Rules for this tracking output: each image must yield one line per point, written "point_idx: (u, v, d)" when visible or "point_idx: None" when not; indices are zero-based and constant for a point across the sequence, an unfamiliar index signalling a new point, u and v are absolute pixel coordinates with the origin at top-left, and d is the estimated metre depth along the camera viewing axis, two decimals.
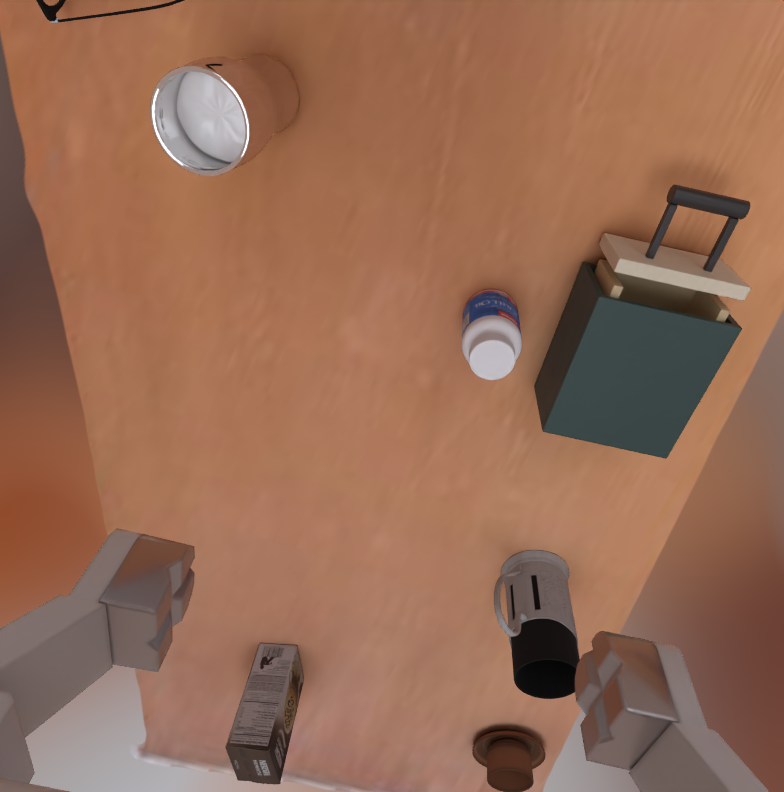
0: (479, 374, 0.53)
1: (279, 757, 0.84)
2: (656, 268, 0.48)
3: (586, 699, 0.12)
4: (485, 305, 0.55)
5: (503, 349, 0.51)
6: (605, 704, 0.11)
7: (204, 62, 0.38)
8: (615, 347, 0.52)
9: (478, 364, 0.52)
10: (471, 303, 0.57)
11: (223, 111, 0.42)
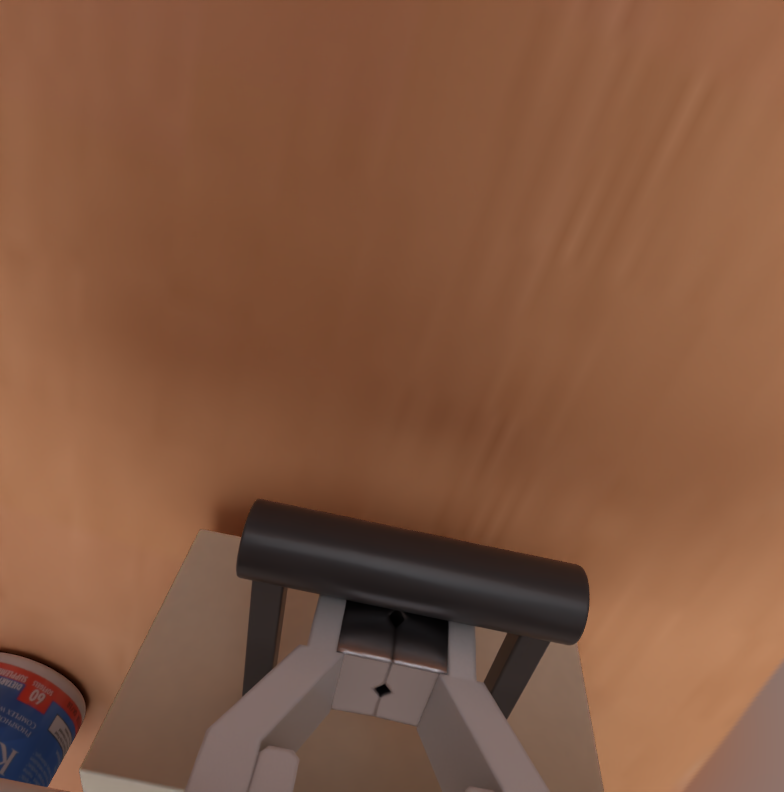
0: None
1: None
2: None
3: None
4: None
5: None
6: None
7: None
8: None
9: None
10: None
11: None
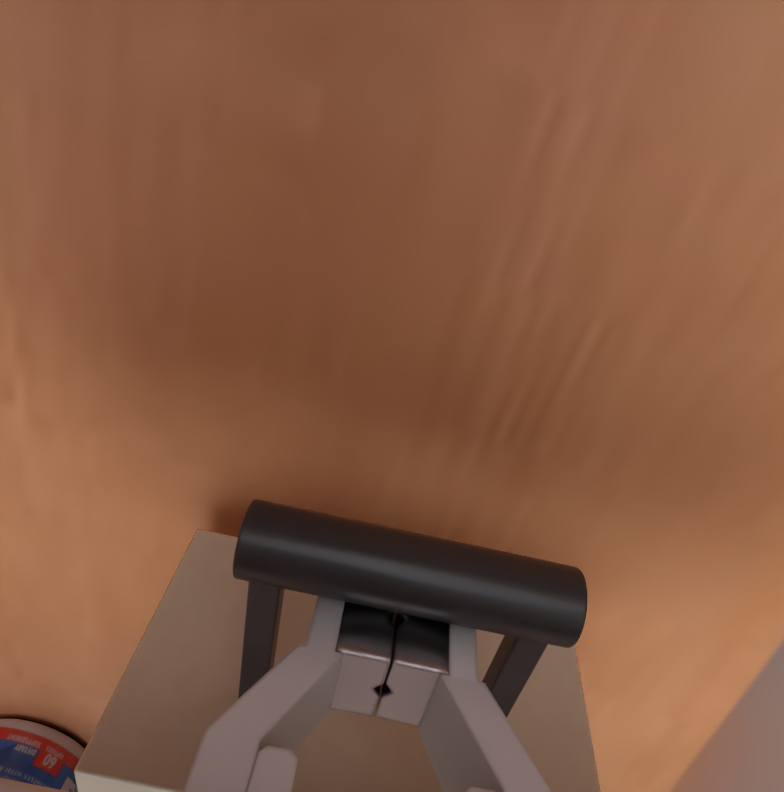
0: None
1: None
2: None
3: None
4: None
5: None
6: None
7: None
8: None
9: None
10: None
11: None
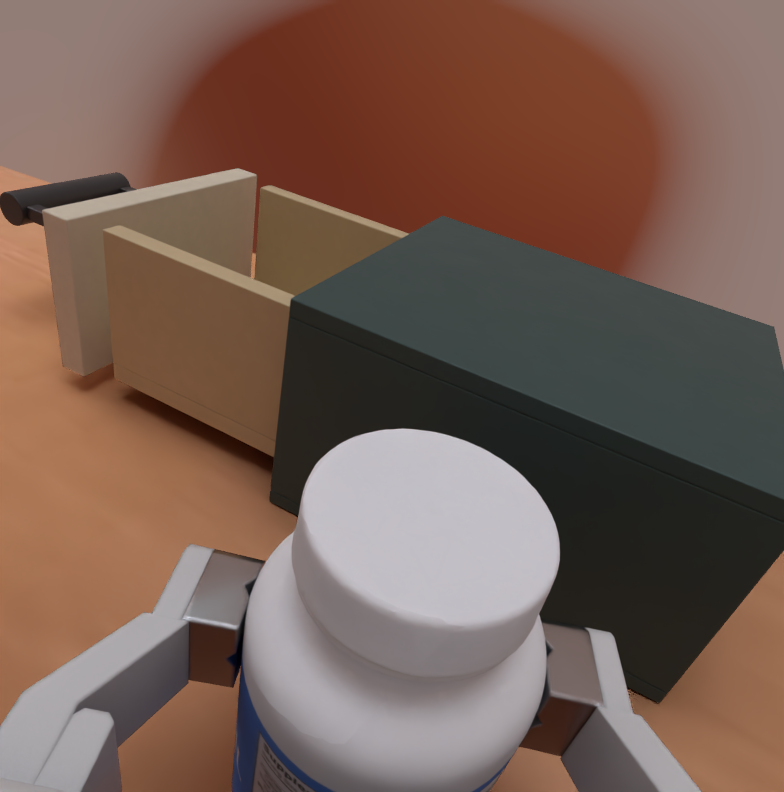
0: (522, 591, 0.08)
1: None
2: (114, 195, 0.24)
3: None
4: None
5: (377, 452, 0.10)
6: None
7: None
8: (455, 313, 0.19)
9: (449, 576, 0.08)
10: None
11: None
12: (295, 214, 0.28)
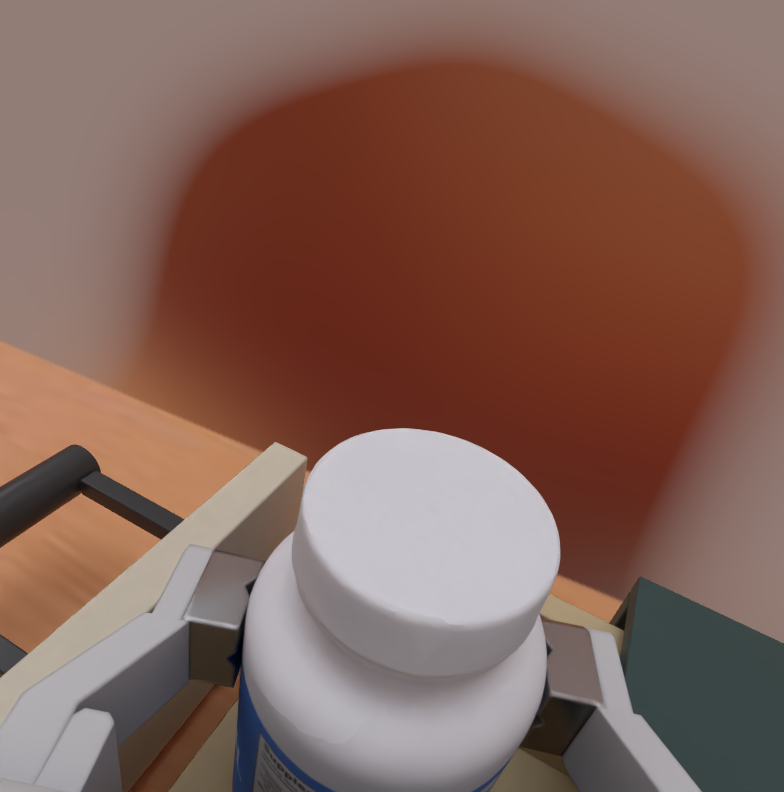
0: (523, 590, 0.08)
1: None
2: (52, 639, 0.12)
3: None
4: None
5: (377, 452, 0.10)
6: None
7: None
8: None
9: (449, 575, 0.08)
10: None
11: None
12: None
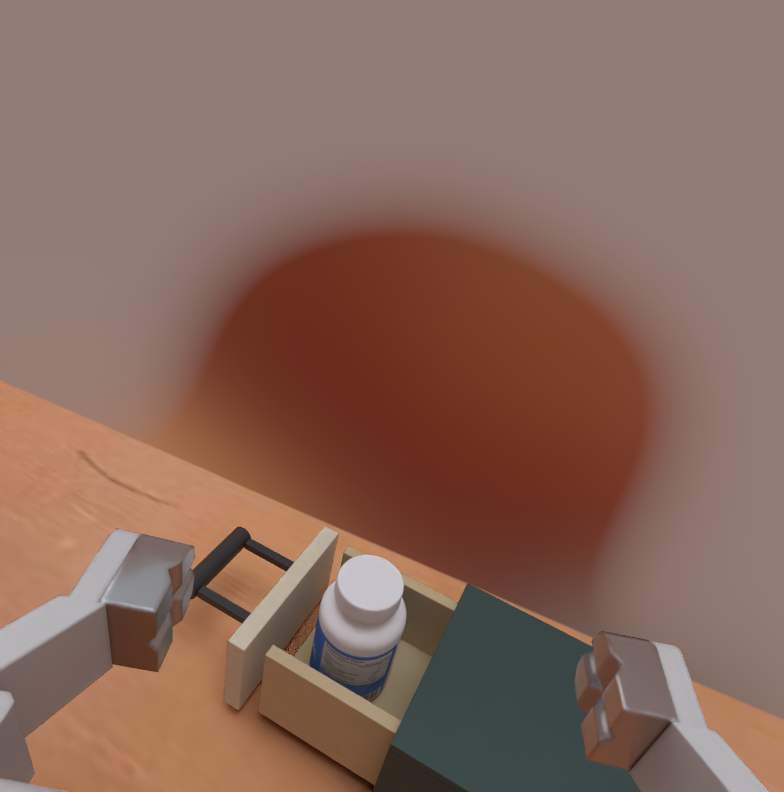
0: (390, 602, 0.34)
1: None
2: (261, 603, 0.37)
3: (586, 699, 0.12)
4: None
5: (357, 563, 0.36)
6: (605, 704, 0.11)
7: None
8: (482, 734, 0.32)
9: (372, 599, 0.34)
10: None
11: None
12: None
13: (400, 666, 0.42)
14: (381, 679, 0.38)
